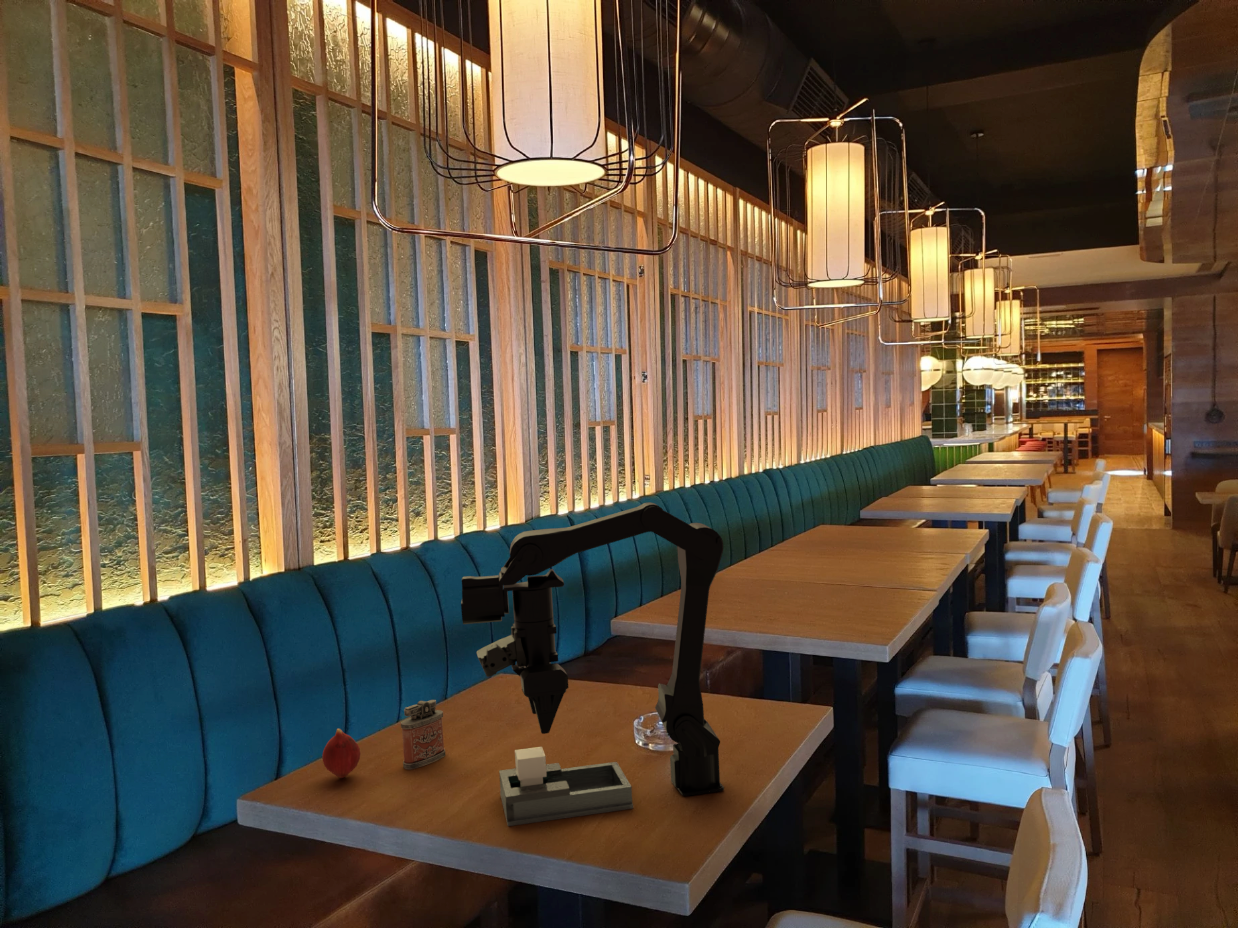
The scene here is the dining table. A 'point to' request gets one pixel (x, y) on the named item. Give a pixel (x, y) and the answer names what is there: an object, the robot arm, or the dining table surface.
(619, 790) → the keyhole guide
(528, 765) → the slider
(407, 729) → the lighter
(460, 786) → the dining table surface
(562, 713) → the dining table surface
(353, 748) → the onion
